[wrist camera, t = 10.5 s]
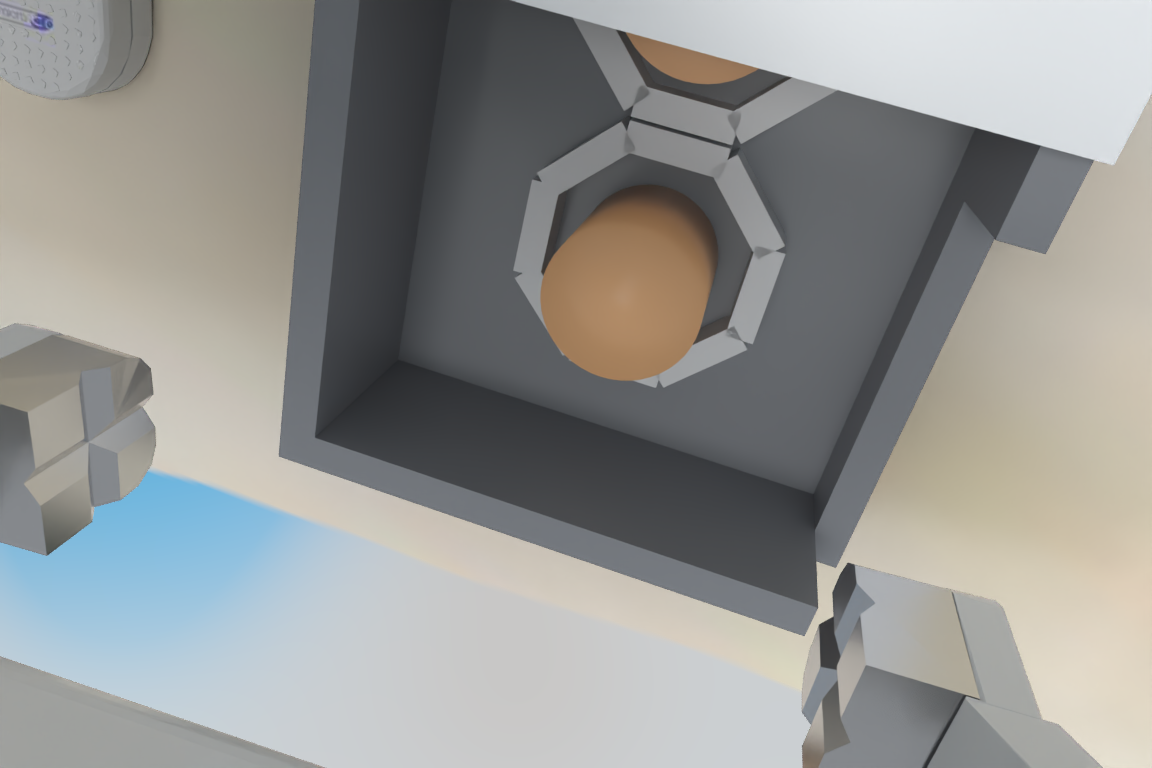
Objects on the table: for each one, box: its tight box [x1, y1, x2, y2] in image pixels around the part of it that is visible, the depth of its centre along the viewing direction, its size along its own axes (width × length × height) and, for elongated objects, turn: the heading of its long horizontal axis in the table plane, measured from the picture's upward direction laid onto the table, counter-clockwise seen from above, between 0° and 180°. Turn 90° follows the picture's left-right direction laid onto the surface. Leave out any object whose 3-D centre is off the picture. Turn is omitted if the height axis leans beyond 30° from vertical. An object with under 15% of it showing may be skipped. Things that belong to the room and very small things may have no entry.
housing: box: [279, 0, 1094, 636], centre depth 20 cm, size 16×26×6 cm, turn 166°
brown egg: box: [540, 185, 718, 381], centre depth 23 cm, size 4×4×4 cm
